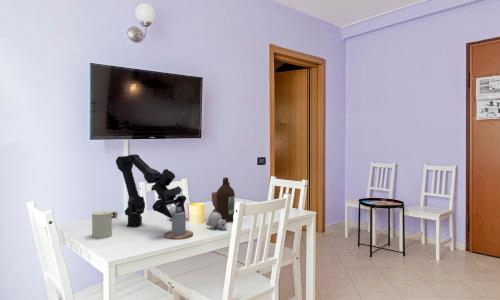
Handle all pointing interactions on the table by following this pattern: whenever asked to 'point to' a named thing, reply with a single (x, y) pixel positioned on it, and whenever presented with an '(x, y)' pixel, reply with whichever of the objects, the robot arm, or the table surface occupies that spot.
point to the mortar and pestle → (215, 200)
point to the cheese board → (170, 236)
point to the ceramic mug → (172, 209)
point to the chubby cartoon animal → (216, 221)
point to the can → (101, 224)
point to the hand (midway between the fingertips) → (178, 216)
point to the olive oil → (225, 201)
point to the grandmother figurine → (114, 213)
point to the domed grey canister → (178, 222)
